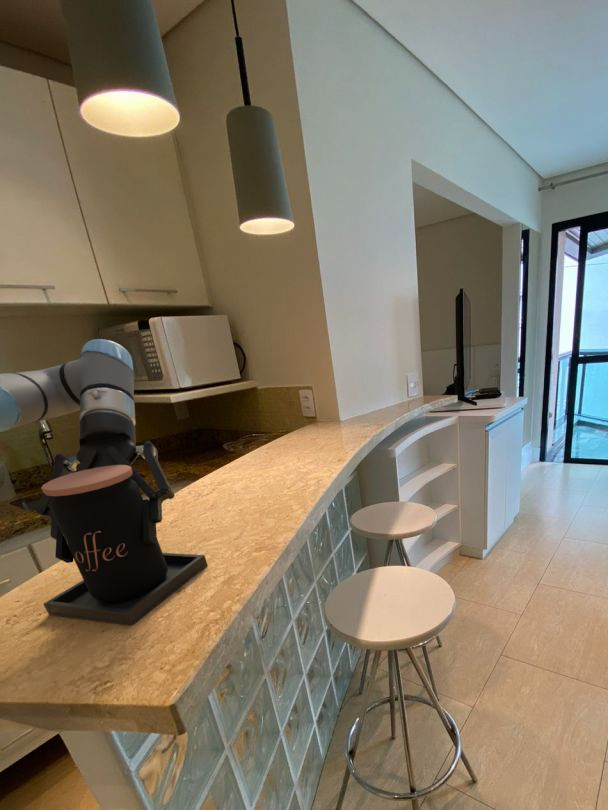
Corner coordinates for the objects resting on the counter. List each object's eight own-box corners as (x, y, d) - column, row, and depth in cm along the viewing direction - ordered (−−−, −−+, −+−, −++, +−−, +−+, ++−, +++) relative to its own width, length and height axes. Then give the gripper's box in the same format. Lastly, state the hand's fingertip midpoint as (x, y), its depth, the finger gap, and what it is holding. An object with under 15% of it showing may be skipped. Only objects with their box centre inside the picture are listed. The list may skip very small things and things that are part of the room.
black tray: (48, 615, 59) (42, 603, 58) (135, 560, 73) (131, 550, 72) (132, 625, 55) (126, 613, 54) (207, 565, 68) (204, 554, 67)
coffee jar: (75, 604, 60) (20, 490, 53) (131, 566, 70) (91, 465, 62) (134, 608, 57) (84, 489, 50) (184, 568, 67) (148, 463, 60)
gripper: (10, 420, 60) (-5, 560, 52) (174, 399, 65) (184, 525, 57) (44, 448, 67) (35, 575, 59) (190, 426, 71) (201, 543, 63)
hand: (108, 551), depth 58 cm, fingers closed on coffee jar, 10 cm apart
